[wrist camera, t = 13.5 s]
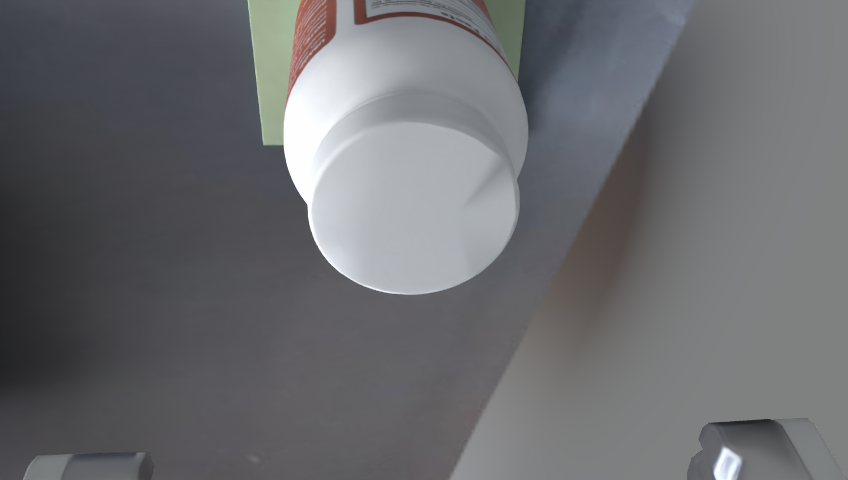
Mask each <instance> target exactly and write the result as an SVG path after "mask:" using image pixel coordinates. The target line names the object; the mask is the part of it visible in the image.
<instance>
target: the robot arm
mask: <svg viewBox="0 0 848 480" xmlns="http://www.w3.org/2000/svg"><path fill="white" fill-rule="evenodd" d="M699 441H700V443H701V446H702V448H703V450H702V451H700V452H699V453H697V454H696V455H695V456H694V457H692V459H691V462H690V465H689V469H688V472H687V476H688V477H687V479H688V480H848V479H847V477H846V476H845V474H844V473H843V471H842V469H841V467H840V466H839V464H838V463H837V461H836V459H835V457H834V456H833V454H832V453H831V451H830V449H829V448H828V446H827V444H826V443H825V441H824V439H823V438H822V436H821V434H820V433H819V431H818V430H817V428H816V426H815V424H814V423H813V422H811V421H810V420H809V419H807V418H794V419H778V420H770V419H763V420H747V421H733V422H732V421H731V422H718V423H717V422H716V423H708V424H707V425H706V426H704V427H703V429H702V431H701V434H700V437H699ZM153 469H154V465H153V462H152V459H151V456H150V453H149V452H136V453H96V454H62V455H38V456H36V457H35V459H34V460H33V461H32V462H31V464H30V465H29V466H28V468H27V471H26V474H25V476H24V479H23V480H151V479H152V474H153Z"/></svg>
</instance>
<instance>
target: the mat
mask: <svg viewBox="0 0 848 480" xmlns="http://www.w3.org/2000/svg"><path fill="white" fill-rule="evenodd" d="M300 1H301V0H248V6H249V16H250V25H251V34H252V43H253V53H254V62H255V71H256V80H257V89H258V99H259V108H260V117H261V126H262V136H263V144H264V145H284V115H285V106H286V99H287V90H288V83H289V74H290V65H291V58H292V48H293V40H294V32H295V22H296V17H297V11H298V8H299V4H300ZM484 3H485V5H486V8H487V10H488V13H489V15H490V18H491V20H492V23H493V25H494V28H495V30H496V33H497V35H498V37H499V39H500V42H501V44H502V47H503V50H504V52H505V55H506V57H507V60H508V62H509V65H510V67H511V69H512V71H513V74H514V76H515V78H516V80H517V83H518V75H519V66H520V56H521V46H522V36H523V26H524V16H525V6H526V0H484Z"/></svg>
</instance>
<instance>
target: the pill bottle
mask: <svg viewBox="0 0 848 480" xmlns="http://www.w3.org/2000/svg"><path fill="white" fill-rule="evenodd" d="M527 144H528V119H527V113H526V108H525V105H524V101H523V98H522V95H521V92H520V89H519V86H518V83H517V80H516V78H515V76H514V74H513V71H512V69H511V67H510V65H509V62H508V60H507V57H506V55H505V52H504V50H503V47H502V44H501V42H500V39H499V37H498V35H497V33H496V30H495V28H494V25H493V23H492V20H491V18H490V15H489V13H488V10H487V8H486V5H485V3H484V0H301V1H300V4H299V8H298V11H297V17H296V22H295V32H294V40H293V48H292V58H291V65H290V74H289V83H288V90H287V99H286V106H285V115H284V151H285V156H286V161H287V165H288V169H289V172H290V174H291V177H292V180H293V182H294V184H295V186H296V188H297V190H298V191H299V193H300V194H301V196H302V197H303V199H304V200H305V202H306V203H307V204H308V217H309V223H310V228H311V231H312V234H313V237H314V239H315V241H316V243H317V245H318V247H319V249H320V251H321V252H322V254H323V256H324V257H325V258H326V259H327V260H328V262H329V263H330V264H331V265H332V266H333V267H334V268H336V269H337V270H338V271H339V272H340V273H342V274H343V275H345V276H346V277H348V278H349V279H351V280H353V281H355V282H357V283H359V284H361V285H363V286H365V287H368V288H371V289H374V290H378V291H382V292H386V293H394V294H425V293H432V292H437V291H441V290H445V289H448V288H451V287H454V286H457V285H459V284H461V283H463V282H465V281H467V280H469V279H471V278H472V277H474V276H475V275H477V274H479V273H480V272H482V271H483V270H484V269H485V268H486V267H488V266H489V265H490V264H491V263H492V262H493V261H494V260H495V259H496V258H497V257H498V256H499V254H500V253H501V252H502V251H503V250H504V248H505V247H506V245H507V243H508V242H509V240H510V238H511V237H512V234H513V233H514V229H515V226H516V223H517V220H518V214H519V206H520V194H519V187H518V183H517V178H518V176H519V174H520V171H521V169H522V166H523V163H524V159H525V156H526V152H527Z"/></svg>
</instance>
